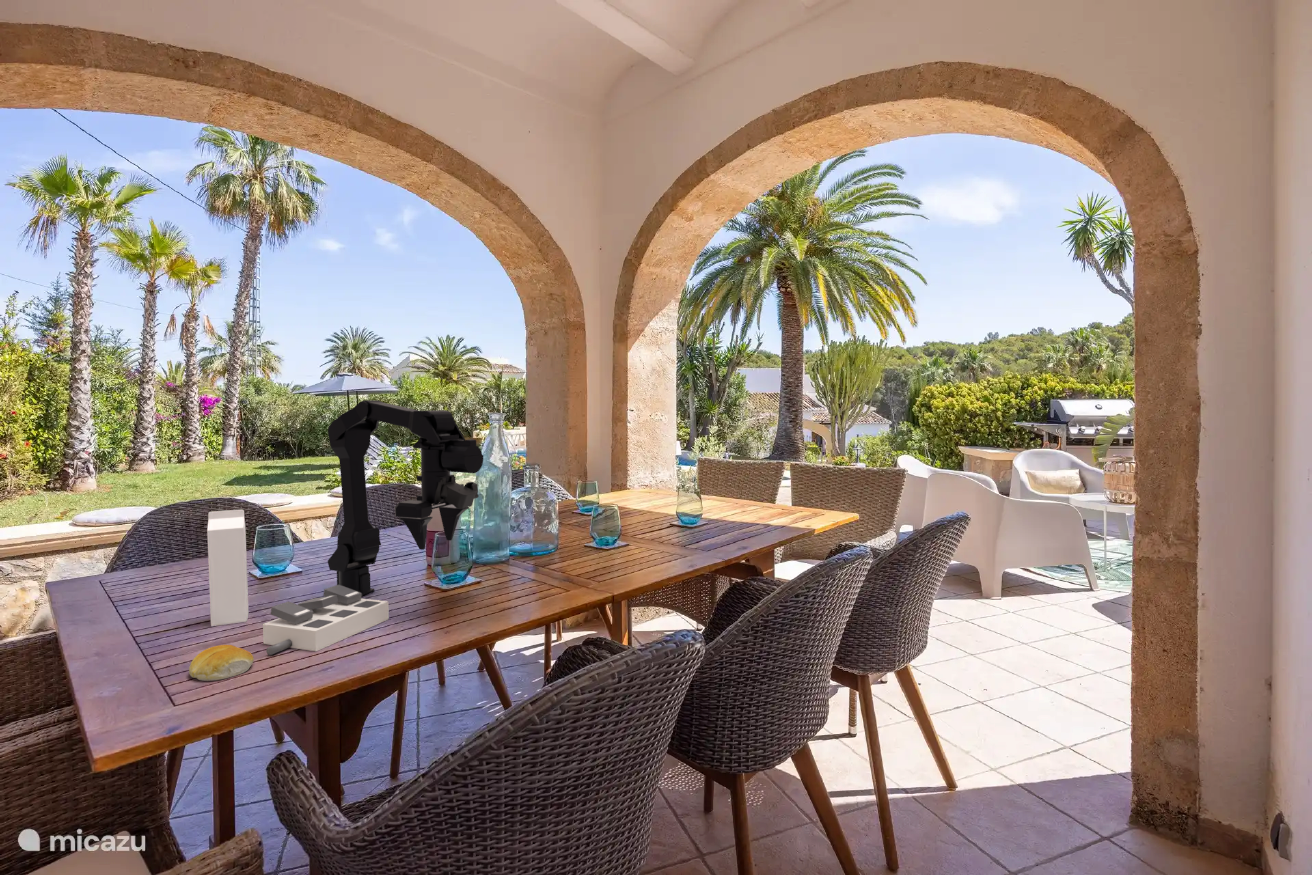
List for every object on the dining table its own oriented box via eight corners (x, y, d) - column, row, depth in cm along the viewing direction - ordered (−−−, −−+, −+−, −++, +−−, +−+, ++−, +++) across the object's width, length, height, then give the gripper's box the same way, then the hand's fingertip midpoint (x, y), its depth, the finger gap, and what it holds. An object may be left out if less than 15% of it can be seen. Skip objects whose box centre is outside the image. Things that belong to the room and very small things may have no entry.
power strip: (243, 651, 114) (242, 630, 114) (340, 613, 135) (340, 595, 135) (296, 659, 110) (296, 637, 110) (388, 619, 131) (388, 600, 131)
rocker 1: (270, 614, 118) (271, 606, 118) (287, 608, 122) (288, 600, 122) (295, 624, 117) (297, 616, 116) (312, 618, 120) (313, 610, 120)
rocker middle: (299, 611, 124) (297, 603, 124) (314, 605, 127) (312, 598, 127) (323, 607, 122) (321, 599, 122) (338, 602, 126) (336, 594, 126)
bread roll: (234, 657, 112) (233, 634, 112) (261, 669, 107) (260, 645, 107) (178, 674, 105) (177, 649, 105) (204, 687, 100) (203, 661, 100)
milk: (247, 622, 130) (243, 511, 129) (210, 627, 127) (206, 514, 126) (248, 613, 135) (245, 507, 134) (213, 618, 132) (209, 509, 131)
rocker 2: (323, 595, 130) (324, 588, 130) (337, 590, 133) (338, 584, 133) (347, 604, 128) (348, 597, 128) (360, 599, 131) (362, 592, 131)
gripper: (441, 477, 125) (442, 558, 126) (493, 467, 143) (493, 538, 144) (392, 474, 129) (393, 553, 129) (449, 465, 146) (450, 535, 147)
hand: (436, 544), depth 137 cm, fingers open, 9 cm apart
